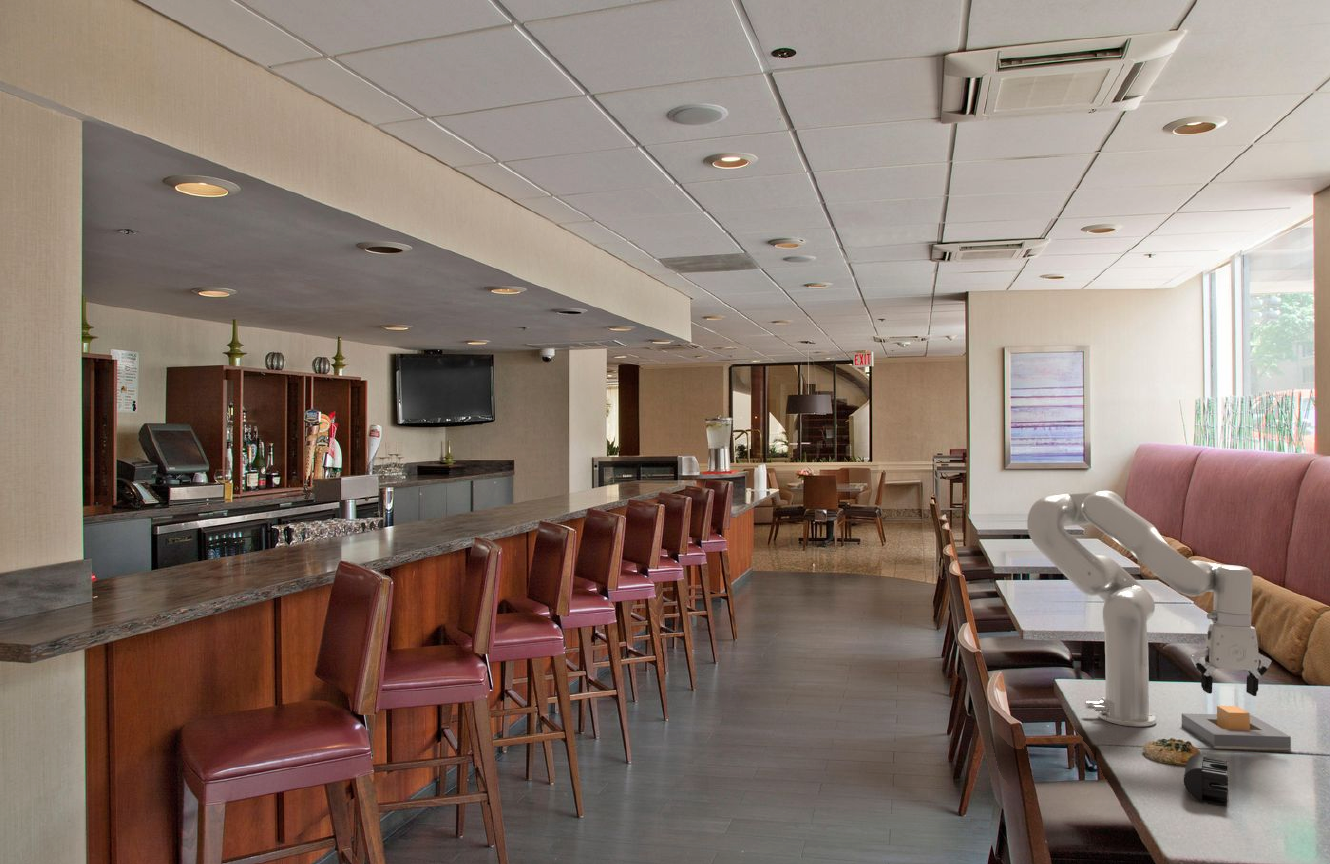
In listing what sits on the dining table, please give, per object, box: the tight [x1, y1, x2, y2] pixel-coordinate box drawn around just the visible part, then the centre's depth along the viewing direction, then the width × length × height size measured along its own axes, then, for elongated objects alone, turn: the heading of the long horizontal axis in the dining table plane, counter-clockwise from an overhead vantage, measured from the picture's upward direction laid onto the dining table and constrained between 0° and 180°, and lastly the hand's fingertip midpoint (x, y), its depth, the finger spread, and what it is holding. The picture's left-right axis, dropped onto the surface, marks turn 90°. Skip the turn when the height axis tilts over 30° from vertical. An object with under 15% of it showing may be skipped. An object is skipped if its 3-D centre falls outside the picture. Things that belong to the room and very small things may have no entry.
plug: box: [1216, 705, 1251, 730], centre depth 212 cm, size 4×6×6 cm
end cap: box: [1183, 752, 1229, 808], centre depth 177 cm, size 10×7×7 cm
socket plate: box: [1181, 713, 1292, 751], centre depth 212 cm, size 16×16×3 cm
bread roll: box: [1142, 737, 1201, 767], centre depth 198 cm, size 11×11×5 cm
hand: (1229, 693), depth 212 cm, fingers open, 9 cm apart
